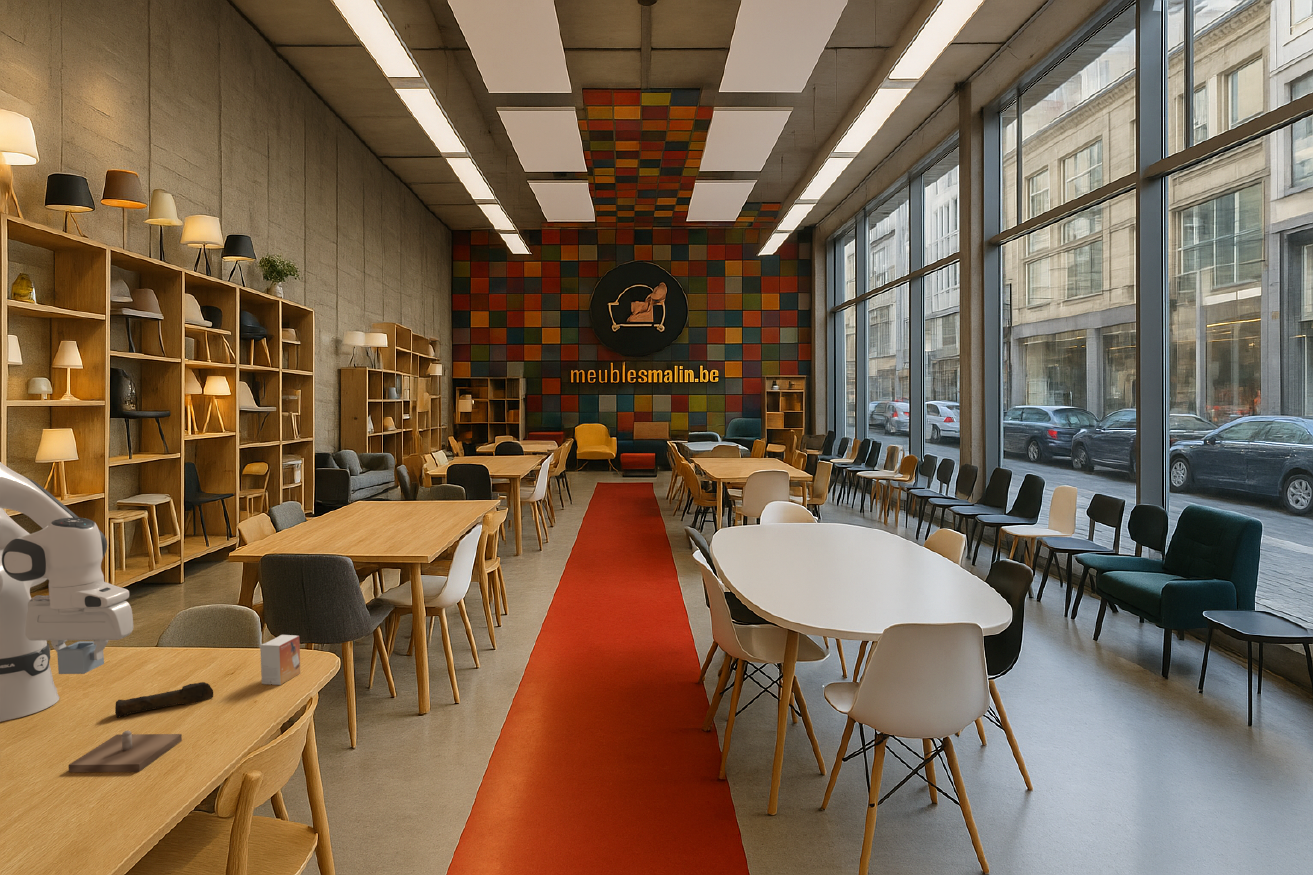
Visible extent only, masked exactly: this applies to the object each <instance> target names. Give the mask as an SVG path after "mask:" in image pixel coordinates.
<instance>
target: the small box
mask: <svg viewBox="0 0 1313 875" xmlns="http://www.w3.org/2000/svg"><path fill="white" fill-rule="evenodd" d="M300 643H301V642H300V635H293V634H291V635H290V634H280V635H279V636H277V637H274V638H273V639H271V640H269V641H267V642H264V643H262V644H260V646H259V647H260V670H261V684H262V685H271V684H272V686H273V685H274V686H281V685H282V684H284V683H286V682H288V681H290V680H292V679H293V678H295V677H297V676H298V675H301V648H300V646H301V645H300Z"/></svg>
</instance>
